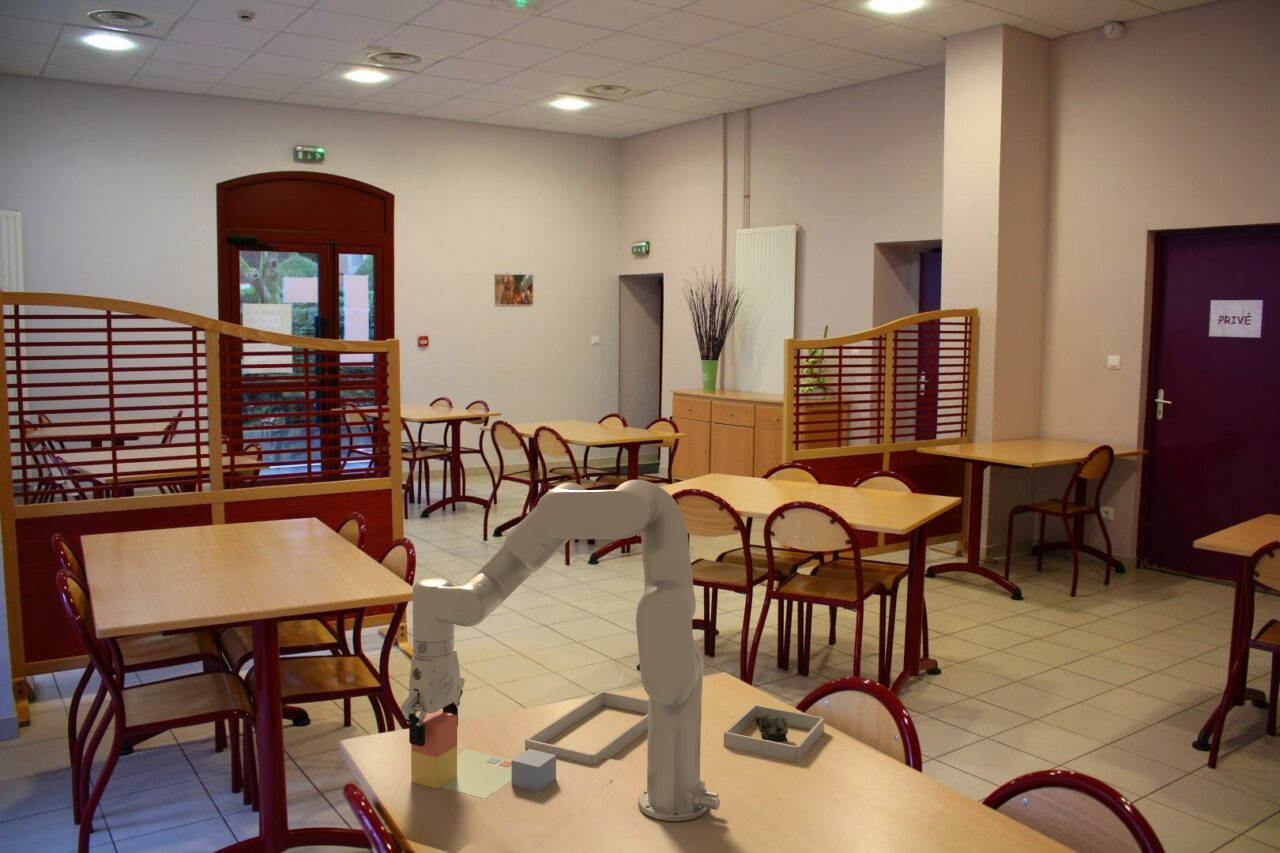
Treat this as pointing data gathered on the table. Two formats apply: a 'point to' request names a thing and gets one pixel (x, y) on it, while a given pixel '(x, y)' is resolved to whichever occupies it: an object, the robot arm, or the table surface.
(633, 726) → the beige open rectangular frame
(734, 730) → the shell frame
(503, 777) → the building board
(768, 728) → the dark grey lumpy lump
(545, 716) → the table surface
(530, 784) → the slate block
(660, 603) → the robot arm
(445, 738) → the red block
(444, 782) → the ochre block
